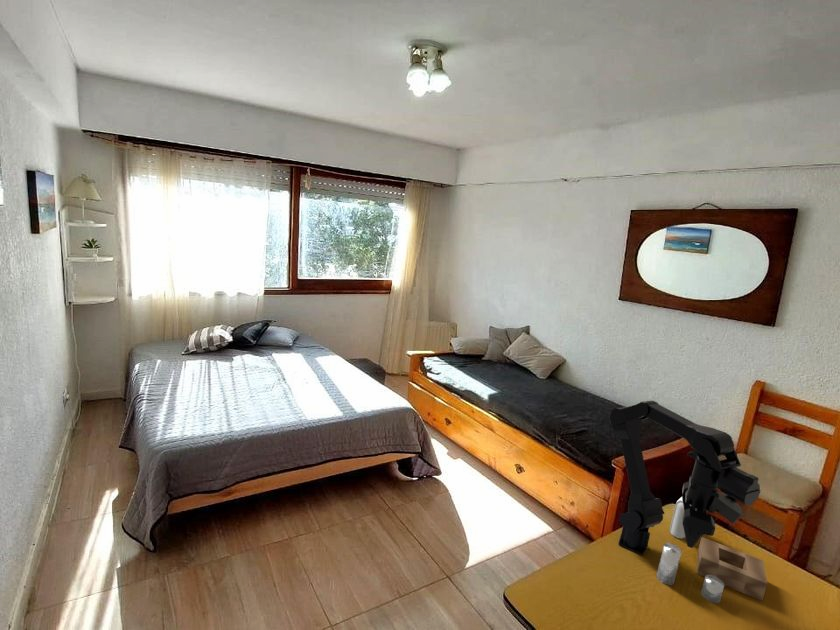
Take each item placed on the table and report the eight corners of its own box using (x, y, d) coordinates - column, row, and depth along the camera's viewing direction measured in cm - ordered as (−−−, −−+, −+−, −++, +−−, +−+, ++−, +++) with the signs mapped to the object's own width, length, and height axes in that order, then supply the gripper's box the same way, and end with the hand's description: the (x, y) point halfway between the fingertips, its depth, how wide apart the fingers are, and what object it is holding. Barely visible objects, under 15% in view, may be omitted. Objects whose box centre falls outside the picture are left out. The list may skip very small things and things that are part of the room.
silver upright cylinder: (655, 579, 115) (663, 549, 113) (657, 570, 118) (664, 540, 116) (673, 587, 113) (681, 556, 111) (674, 578, 116) (682, 547, 114)
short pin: (701, 597, 110) (705, 581, 109) (701, 587, 114) (705, 572, 113) (720, 606, 108) (724, 590, 107) (719, 595, 112) (724, 580, 111)
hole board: (697, 573, 118) (701, 557, 117) (697, 552, 127) (701, 536, 126) (762, 601, 111) (767, 583, 110) (758, 576, 120) (763, 560, 119)
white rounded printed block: (683, 522, 140) (692, 487, 138) (698, 531, 137) (707, 494, 134) (666, 532, 134) (675, 495, 132) (681, 541, 131) (690, 503, 128)
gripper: (749, 514, 97) (731, 575, 101) (740, 476, 113) (724, 529, 117) (691, 494, 103) (675, 552, 106) (689, 460, 119) (675, 512, 122)
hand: (689, 536), depth 112 cm, fingers open, 9 cm apart
